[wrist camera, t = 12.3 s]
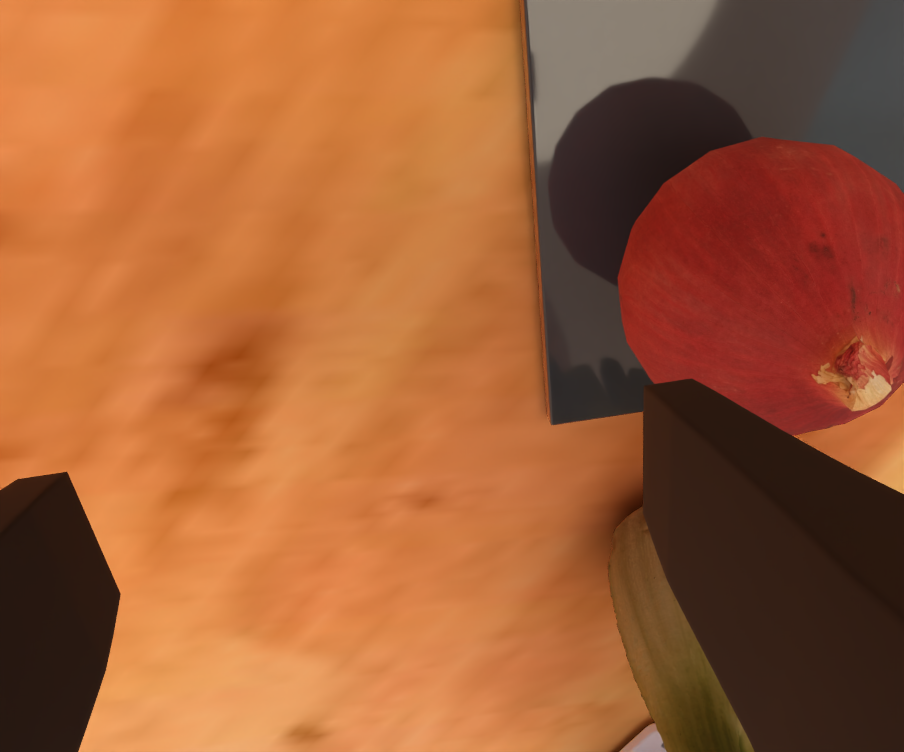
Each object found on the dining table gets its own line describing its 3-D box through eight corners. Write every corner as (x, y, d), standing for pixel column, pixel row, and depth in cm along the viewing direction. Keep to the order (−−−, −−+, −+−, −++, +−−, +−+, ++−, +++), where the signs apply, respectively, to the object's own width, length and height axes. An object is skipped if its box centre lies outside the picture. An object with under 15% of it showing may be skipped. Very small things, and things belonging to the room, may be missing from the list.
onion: (854, 125, 19) (1150, 242, 12) (768, 346, 21) (966, 549, 14) (616, 87, 18) (781, 189, 11) (557, 323, 20) (659, 528, 13)
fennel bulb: (561, 539, 25) (707, 989, 14) (676, 429, 23) (937, 845, 13) (686, 615, 27) (893, 1054, 16) (799, 520, 25) (1109, 938, 15)
